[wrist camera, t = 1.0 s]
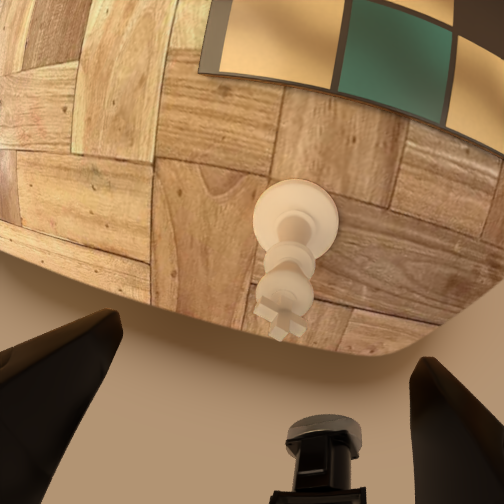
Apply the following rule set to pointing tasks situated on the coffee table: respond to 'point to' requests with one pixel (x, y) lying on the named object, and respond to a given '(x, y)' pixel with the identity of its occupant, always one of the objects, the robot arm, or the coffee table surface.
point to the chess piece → (291, 250)
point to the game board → (373, 56)
